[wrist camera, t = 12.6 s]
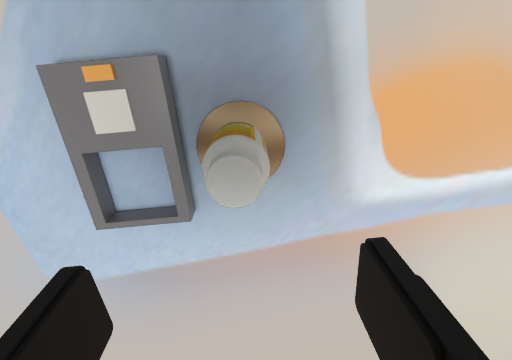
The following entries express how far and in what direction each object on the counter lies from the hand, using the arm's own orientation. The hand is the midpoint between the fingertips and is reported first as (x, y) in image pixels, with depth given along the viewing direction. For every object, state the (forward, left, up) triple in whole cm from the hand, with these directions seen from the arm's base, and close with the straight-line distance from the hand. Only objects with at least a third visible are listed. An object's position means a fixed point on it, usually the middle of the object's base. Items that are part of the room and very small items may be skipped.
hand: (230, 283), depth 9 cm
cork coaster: (+1, 0, -20) cm, 20 cm away
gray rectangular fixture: (0, -11, -20) cm, 23 cm away
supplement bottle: (0, 0, -20) cm, 20 cm away
